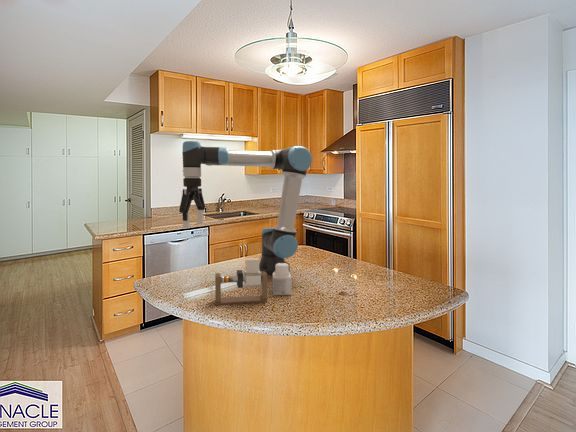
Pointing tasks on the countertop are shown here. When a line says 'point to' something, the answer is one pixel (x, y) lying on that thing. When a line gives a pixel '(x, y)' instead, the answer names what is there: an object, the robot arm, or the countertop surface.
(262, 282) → the rod stand
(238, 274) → the dark grey block
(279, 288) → the container
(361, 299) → the countertop surface
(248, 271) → the stepped block with cap
